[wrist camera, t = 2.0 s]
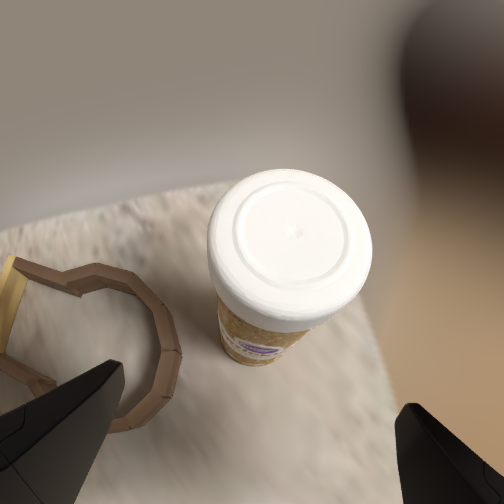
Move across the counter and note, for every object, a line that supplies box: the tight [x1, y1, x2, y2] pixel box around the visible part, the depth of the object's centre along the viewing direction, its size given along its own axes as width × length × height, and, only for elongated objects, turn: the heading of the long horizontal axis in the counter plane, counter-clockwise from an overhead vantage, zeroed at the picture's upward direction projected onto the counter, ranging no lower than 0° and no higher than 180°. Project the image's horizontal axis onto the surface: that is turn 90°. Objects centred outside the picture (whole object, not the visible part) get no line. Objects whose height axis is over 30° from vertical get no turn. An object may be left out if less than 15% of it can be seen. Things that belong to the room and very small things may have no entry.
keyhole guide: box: [0, 254, 182, 434], centre depth 18 cm, size 11×15×2 cm
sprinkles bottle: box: [207, 169, 372, 366], centre depth 14 cm, size 5×5×14 cm
